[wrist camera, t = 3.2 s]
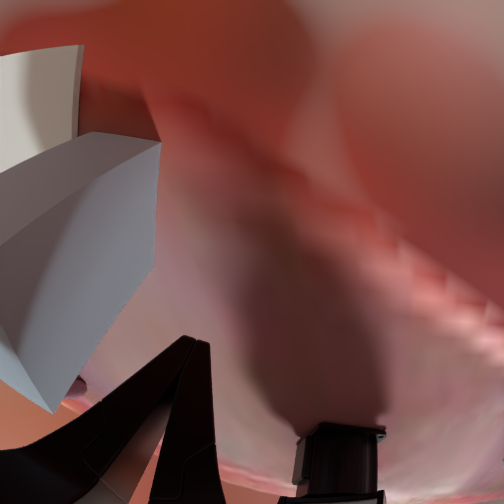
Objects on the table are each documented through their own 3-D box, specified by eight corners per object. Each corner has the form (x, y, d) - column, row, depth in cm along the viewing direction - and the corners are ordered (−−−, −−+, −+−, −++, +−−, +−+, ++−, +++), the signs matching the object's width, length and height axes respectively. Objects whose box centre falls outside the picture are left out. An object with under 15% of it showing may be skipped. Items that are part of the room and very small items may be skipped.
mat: (84, 44, 11) (78, 44, 10) (90, 297, 20) (86, 301, 19) (-39, 67, 11) (-44, 68, 11) (-20, 245, 20) (-23, 247, 20)
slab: (161, 142, 13) (-23, 265, 5) (153, 266, 17) (53, 414, 9) (88, 130, 13) (-83, 223, 5) (92, 245, 17) (-17, 366, 9)
